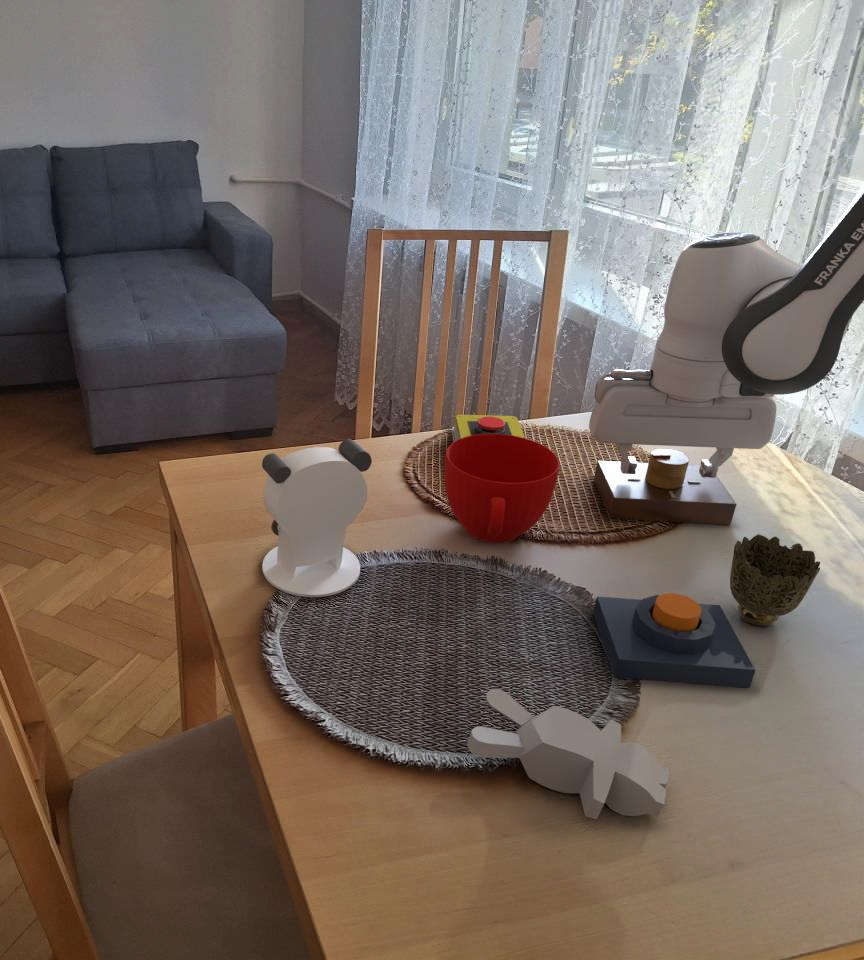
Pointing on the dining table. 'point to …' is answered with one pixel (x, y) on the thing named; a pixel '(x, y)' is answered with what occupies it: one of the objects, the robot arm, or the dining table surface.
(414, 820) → the dining table surface
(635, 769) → the bunny figurine
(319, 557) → the panda figurine
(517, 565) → the dining table surface
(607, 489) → the dimmer panel
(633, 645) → the switch box
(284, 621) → the dining table surface
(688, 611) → the light button
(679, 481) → the dimmer knob
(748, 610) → the cup
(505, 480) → the ceramic cup
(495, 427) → the emergency button
